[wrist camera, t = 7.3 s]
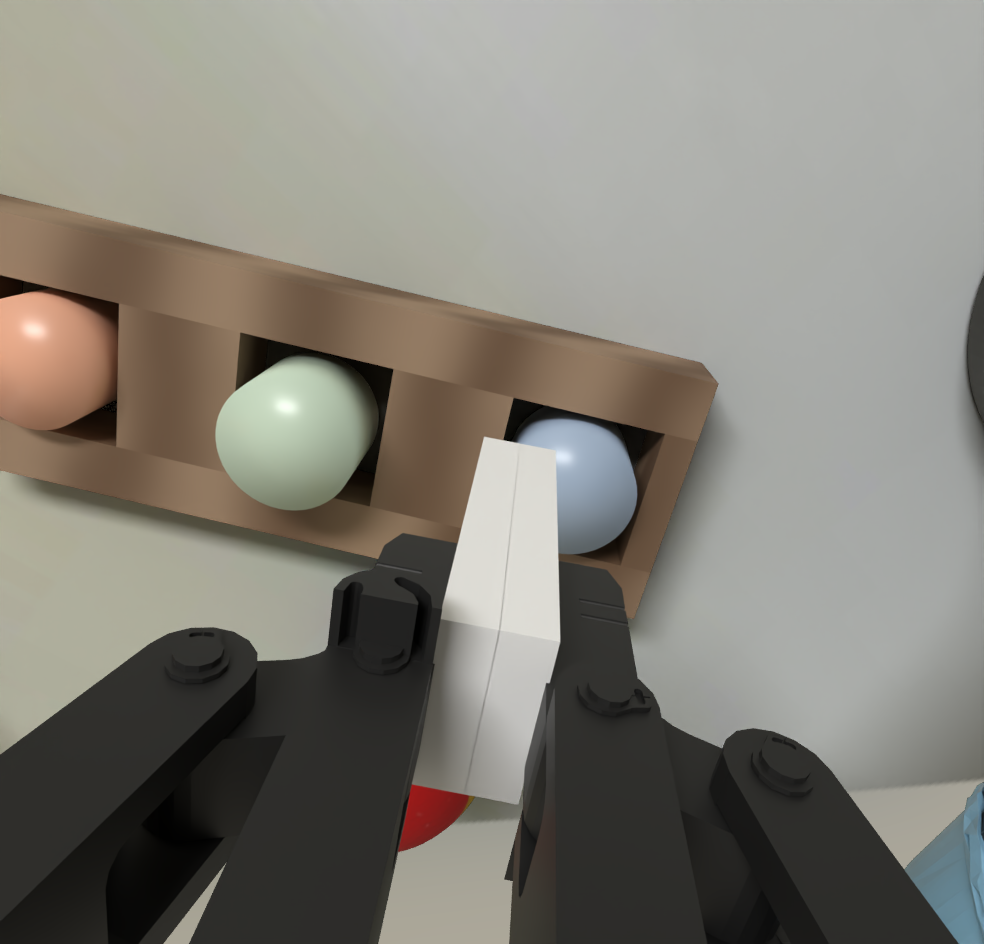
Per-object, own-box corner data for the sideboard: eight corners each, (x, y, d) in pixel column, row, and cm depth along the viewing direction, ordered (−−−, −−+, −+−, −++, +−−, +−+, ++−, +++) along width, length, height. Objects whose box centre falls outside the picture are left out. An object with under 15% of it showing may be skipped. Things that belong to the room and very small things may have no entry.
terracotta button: (147, 299, 28) (92, 316, 25) (143, 413, 30) (91, 443, 27) (27, 270, 28) (-46, 284, 25) (30, 386, 30) (-36, 413, 27)
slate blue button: (642, 417, 29) (654, 451, 25) (608, 523, 30) (615, 567, 27) (524, 389, 29) (520, 418, 25) (497, 496, 30) (490, 537, 27)
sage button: (387, 368, 27) (364, 396, 24) (368, 482, 29) (344, 524, 25) (262, 338, 27) (220, 362, 24) (250, 455, 29) (210, 492, 25)
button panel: (702, 363, 28) (718, 383, 25) (626, 580, 32) (633, 619, 29) (-12, 191, 27) (-76, 193, 25) (0, 432, 31) (-54, 457, 29)
